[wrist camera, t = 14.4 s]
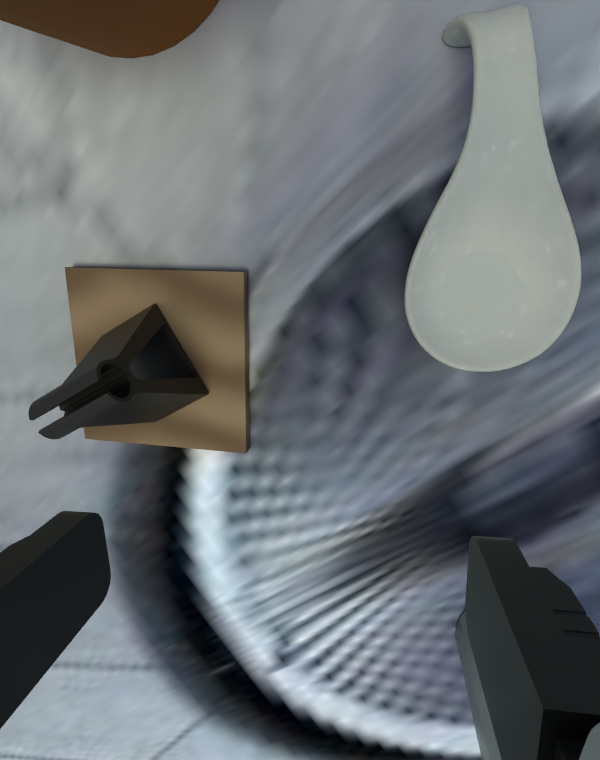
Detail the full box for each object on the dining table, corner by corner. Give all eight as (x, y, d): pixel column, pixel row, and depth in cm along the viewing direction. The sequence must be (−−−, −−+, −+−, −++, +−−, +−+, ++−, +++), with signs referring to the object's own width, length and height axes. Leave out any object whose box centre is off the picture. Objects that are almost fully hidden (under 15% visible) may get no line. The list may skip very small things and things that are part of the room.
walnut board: (249, 447, 41) (246, 453, 40) (92, 433, 43) (85, 438, 42) (247, 271, 37) (243, 272, 36) (73, 267, 39) (64, 267, 38)
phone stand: (104, 334, 39) (-8, 365, 28) (156, 302, 37) (61, 321, 26) (157, 420, 40) (72, 484, 29) (210, 393, 39) (142, 449, 27)
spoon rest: (557, 356, 35) (602, 380, 28) (406, 368, 37) (413, 393, 30) (565, 8, 29) (624, -70, 22) (384, 47, 31) (388, -13, 24)
